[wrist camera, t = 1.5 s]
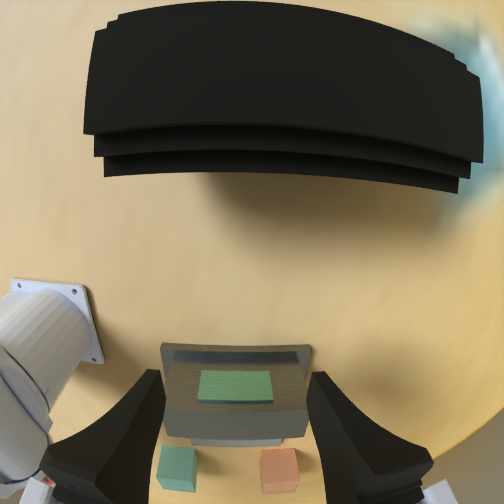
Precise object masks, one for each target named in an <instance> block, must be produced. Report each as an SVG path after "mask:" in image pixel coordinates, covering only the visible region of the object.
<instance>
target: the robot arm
mask: <svg viewBox="0 0 504 504" xmlns="http://www.w3.org/2000/svg"><path fill="white" fill-rule="evenodd" d="M10 285H11V289H12V290H11V291H10V292H9V293H7V294H6V295H5V296H4V297H2V298H1V299H0V499H7V498H8V497H9V496H10V495H11V494H13V493H14V492H15V491H17V490H18V489H21V488H25V487H26V488H25V491H24V493H23V496H22V498H21V501H20V503H19V504H148V501H149V484H150V474H151V466H152V458H153V454H154V449H155V446H156V442H157V438H158V435H159V431H160V428H161V424H162V421H163V417H164V411H165V405H166V395H165V390H164V386H163V382H162V378H161V373H160V370H152V369H147V370H146V371H145V373H144V374H143V375H142V376H141V377H140V379H139V380H138V381H137V382H136V383H135V384H134V386H133V387H132V388H131V389H130V390H129V391H128V392H127V393H126V395H125V396H124V397H123V398H122V399H121V400H120V401H119V402H118V403H117V404H116V405H115V406H114V407H113V408H111V409H110V410H109V411H108V412H107V413H106V414H105V415H103V416H102V417H101V418H100V419H98V420H97V421H96V422H94V423H93V424H91V425H90V426H88V427H87V428H85V429H84V430H82V431H80V432H78V433H76V434H74V435H73V436H71V437H68V438H66V439H64V440H61V441H59V442H56V443H53V440H52V438H51V436H50V435H49V433H48V432H49V430H50V428H51V426H52V424H53V422H52V420H51V419H50V417H49V413H50V411H51V409H52V407H53V406H54V404H55V402H56V401H57V399H58V397H59V395H60V394H61V392H62V390H63V389H64V387H65V385H66V384H67V382H68V381H69V379H70V377H71V376H72V374H73V373H74V371H75V369H76V368H77V366H78V365H79V363H80V362H81V361H84V362H89V363H95V364H103V363H104V361H105V360H104V356H103V353H102V350H101V347H100V344H99V340H98V337H97V333H96V330H95V326H94V322H93V318H92V314H91V310H90V306H89V302H88V298H87V293H86V289H85V288H84V287H83V286H82V285H76V284H65V283H53V282H43V281H33V280H23V279H15V278H13V279H12V280H11V281H10ZM74 289H75V290H76V291H77V292H75V290H74ZM94 358H95V359H94ZM306 405H307V411H308V417H309V421H310V424H311V427H312V431H313V434H314V437H315V440H316V444H317V447H318V450H319V454H320V458H321V464H322V470H323V476H324V483H325V492H326V501H327V504H458V503H457V501H456V499H455V496H454V494H453V492H452V490H451V488H450V486H449V484H448V482H447V480H446V479H443V480H441V481H439V482H437V483H435V484H433V485H431V486H429V487H427V488H425V489H424V490H421V488H420V486H421V485H422V481H421V478H422V477H423V476H424V475H425V474H426V473H427V472H428V471H429V470H430V469H431V468H432V466H433V464H434V462H433V460H432V458H431V456H430V454H429V452H428V450H427V449H426V448H424V447H421V446H418V445H416V444H413V443H410V442H408V441H406V440H404V439H402V438H400V437H398V436H396V435H394V434H392V433H391V432H389V431H387V430H386V429H384V428H382V427H381V426H379V425H378V424H376V423H375V422H374V421H372V420H371V419H370V418H369V417H367V416H366V415H365V414H364V413H363V412H362V411H360V410H359V409H358V408H357V407H356V406H355V405H354V404H353V403H352V402H351V401H350V400H349V399H348V398H347V397H346V396H345V395H344V393H343V392H342V391H341V390H340V389H339V388H338V387H337V385H336V384H335V383H334V382H333V381H332V380H331V378H330V377H329V376H328V375H327V373H326V372H325V371H321V372H312V375H311V380H310V384H309V388H308V393H307V397H306ZM46 475H47V476H48V477H49V478H50V479H51V480H52V481H53V482H54V483H55V484H56V485H55V488H53V487H51V486H49V485H48V484H46V483H44V482H42V481H41V480H42V479H43V478H44V477H45V476H46Z"/></svg>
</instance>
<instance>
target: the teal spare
mask: <svg viewBox="0 0 504 504" xmlns="http://www.w3.org/2000/svg"><path fill="white" fill-rule="evenodd" d="M197 468H198V461H197V457H196V453H195V449H192V448H181V447H172V446H164V445H162V449H161V455H160V460H159V465H158V470H157V476H156V478H157V479H158V481H159V483H160V484H161V486H162V487H163V489H168V490H175V491H183V492H193V493H196V480H197Z"/></svg>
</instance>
